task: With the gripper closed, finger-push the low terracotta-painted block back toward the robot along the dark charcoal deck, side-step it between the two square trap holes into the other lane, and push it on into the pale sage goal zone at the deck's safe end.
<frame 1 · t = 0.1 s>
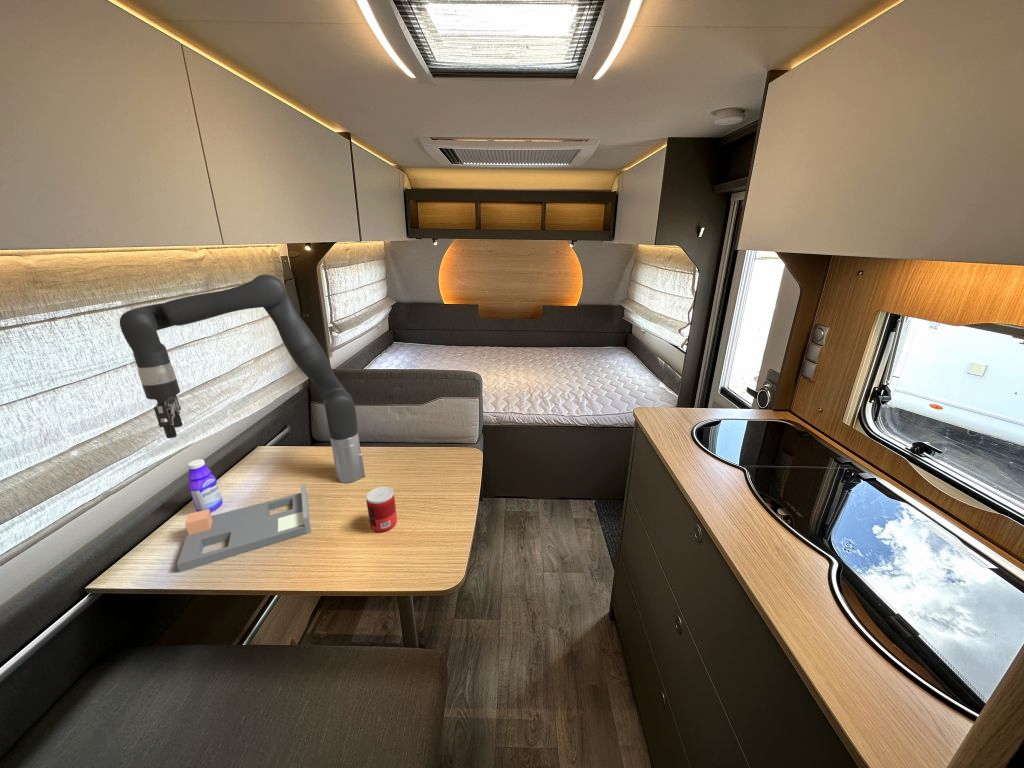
hand: (175, 431, 117), 29 cm above the table, fingers open, 8 cm apart
block: (201, 527, 117), point 2 cm above the table, touching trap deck
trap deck: (249, 530, 119), on the table
bottle: (210, 509, 129), on the table
canned food: (384, 525, 121), on the table
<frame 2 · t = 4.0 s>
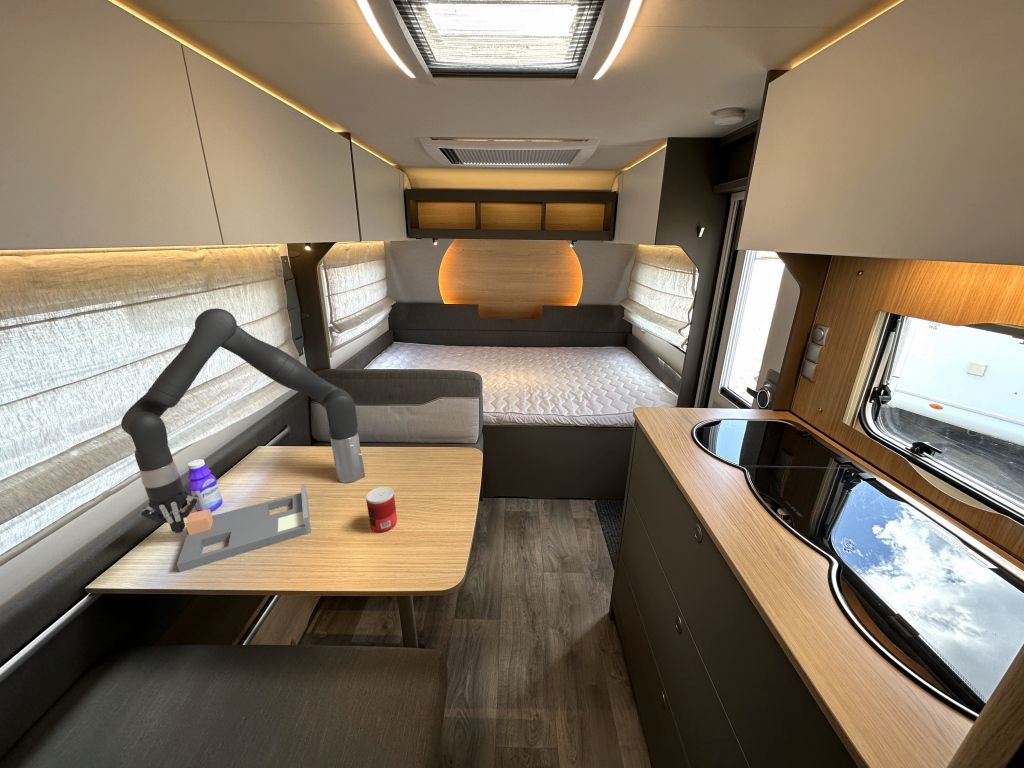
hand: (179, 531, 115), 3 cm above the table, fingers closed
block: (201, 527, 117), point 3 cm above the table, touching gripper, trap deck
everything else where it was.
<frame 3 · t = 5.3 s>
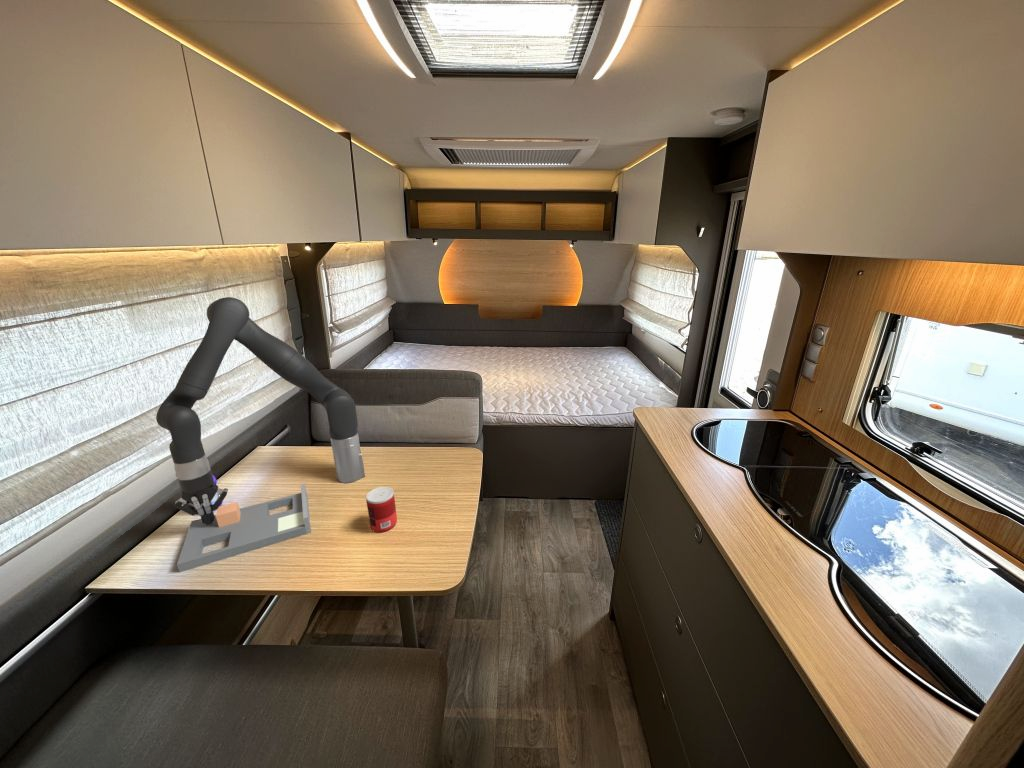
hand: (209, 522, 118), 3 cm above the table, fingers closed
block: (230, 519, 120), point 3 cm above the table
everything else where it was.
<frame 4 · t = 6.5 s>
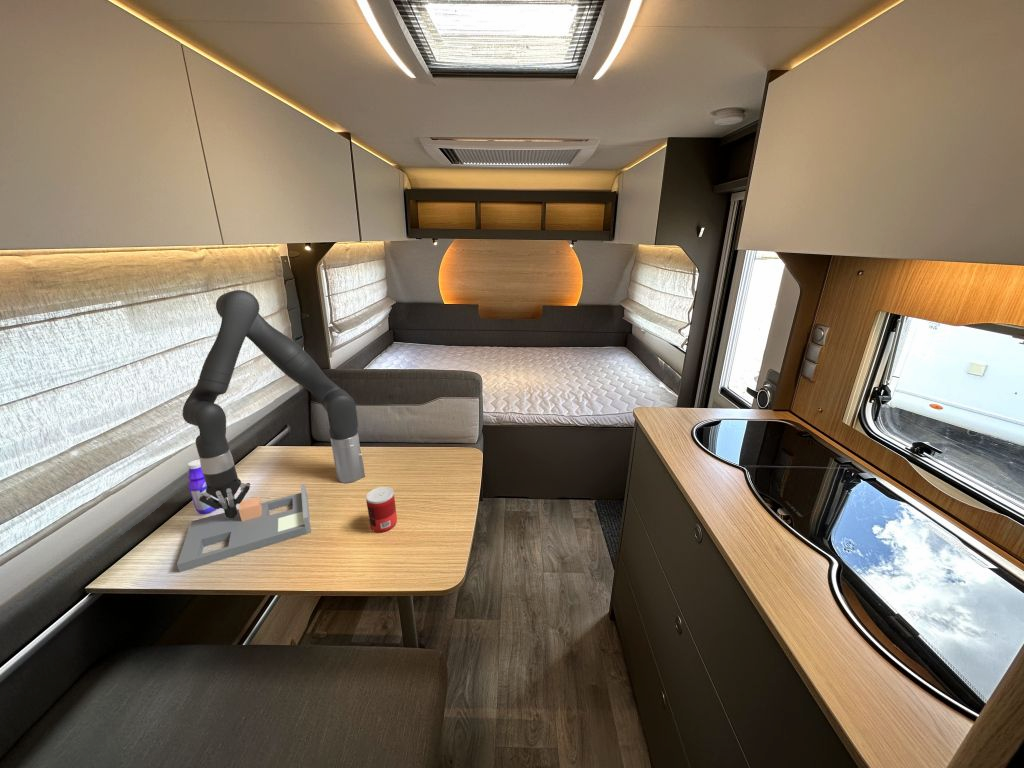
hand: (232, 516, 120), 3 cm above the table, fingers closed
block: (252, 514, 123), point 3 cm above the table, touching gripper
everything else where it was.
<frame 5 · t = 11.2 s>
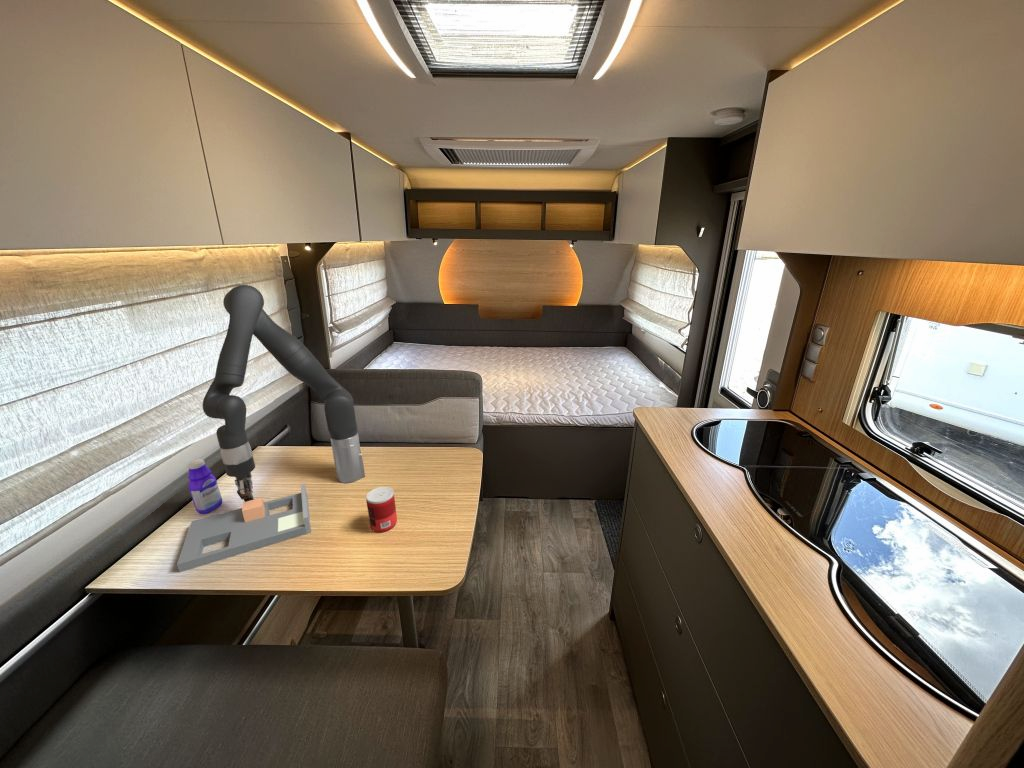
hand: (250, 505, 125), 3 cm above the table, fingers closed
block: (255, 515, 122), point 3 cm above the table, touching gripper, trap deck
everything else where it was.
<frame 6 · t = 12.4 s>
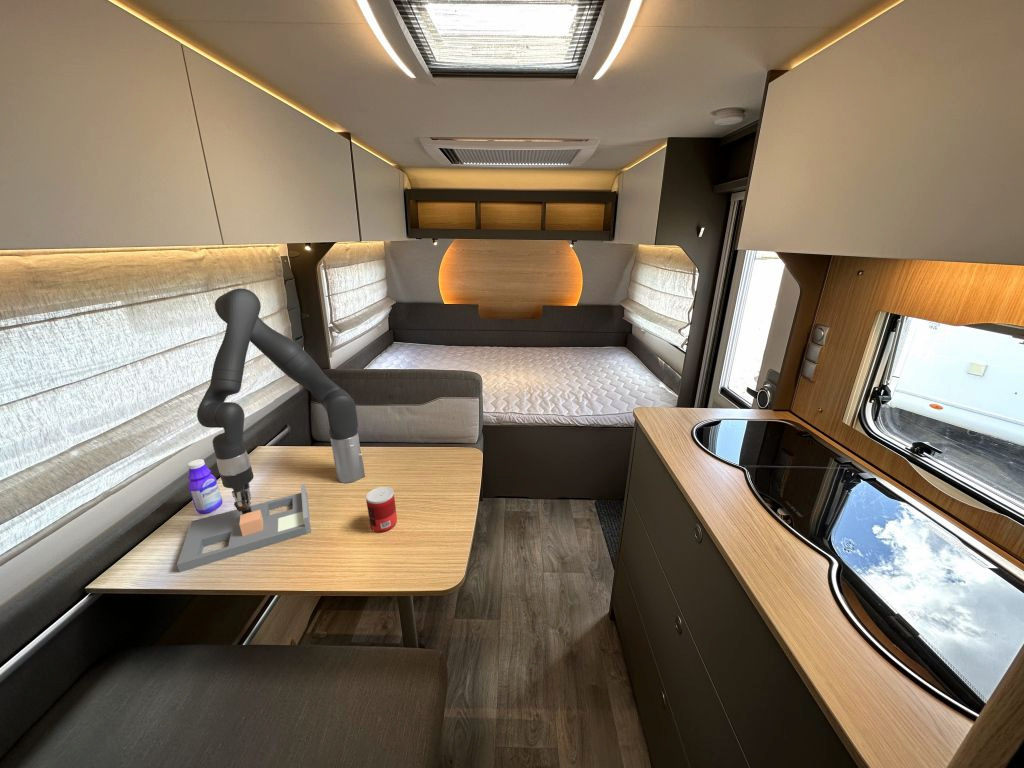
hand: (248, 517, 119), 3 cm above the table, fingers closed
block: (253, 528, 116), point 3 cm above the table, touching gripper
everything else where it was.
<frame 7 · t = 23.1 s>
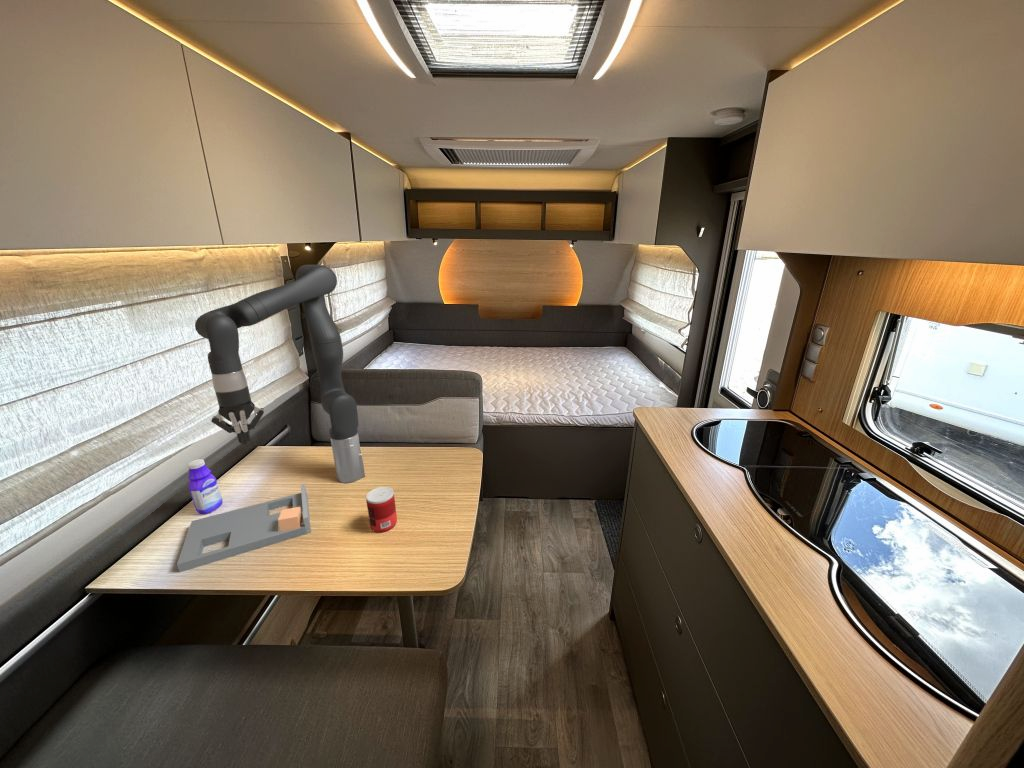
hand: (245, 443, 115), 27 cm above the table, fingers closed
block: (292, 524, 118), point 2 cm above the table, touching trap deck
everything else where it was.
at the end: block inside the target area (2.0 cm from its centre), point 2.5 cm above the table; block tilted 0° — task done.
